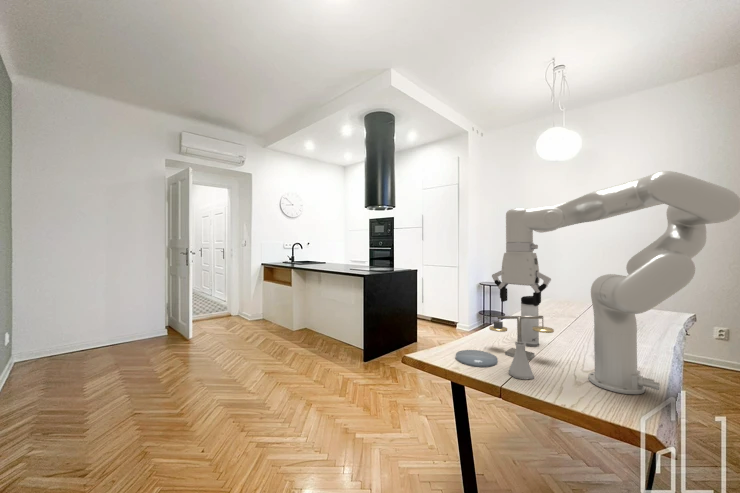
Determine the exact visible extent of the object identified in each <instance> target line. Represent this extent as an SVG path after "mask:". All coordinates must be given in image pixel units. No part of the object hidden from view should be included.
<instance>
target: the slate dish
mask: <svg viewBox="0 0 740 493" xmlns="http://www.w3.org/2000/svg"><path fill="white" fill-rule="evenodd" d="M498 359H499V358H498V357H497V356H496V355H495V354H493V353H491V352H487V351H484V350H478V349H477V350H476V349H464V350H458V351H457V352H456V353H455V360H456V361H457V362H459V363H461V364H462V365H466V366H470V367H475V368H491V367H495V366H497V365H498V361H499V360H498Z"/></svg>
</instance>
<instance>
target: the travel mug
mask: <svg viewBox="0 0 740 493" xmlns="http://www.w3.org/2000/svg"><path fill="white" fill-rule="evenodd" d="M520 316H539V305H538V306H534V305H533V295H526V296H522V297H521V296H520ZM539 320H540V319H521V326H522V342H524V343H526V346H525V347H530V348H532V347H533V348H534V347H535V348H536V347H538V346H540V342H539V341H540V338H539V337H540V336H539V335H540V332H537V331H534V330H533V328H532V327H534V326H540V325H539V324H540V322H539Z"/></svg>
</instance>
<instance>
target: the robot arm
mask: <svg viewBox="0 0 740 493" xmlns="http://www.w3.org/2000/svg"><path fill="white" fill-rule="evenodd" d="M661 205H666V206H667V209H666V221H667V227H666V230H665V232H664V233H663V234H662V235H660V236H659V237H658V238H656V240H654V241H653V242H651V243H650V244H649V245H648V246H646V247H644V248H643V249H641V250H640V251H638V252H637V253H635V254H634V255H633V256H632V257H631V258H630V259H629V260H628V261H627V263H626V267H625V268H626V269H625V270H626V273H627V274H628V275H622V274H615V273H608V274H602V275H600V276H598V277H597V278H595V280H594V281H593V282H592V284H591V287H590V297H591V302H592V303H591V304H592V310H593V326H594V327H593V339H594V340H593V341H594V344H593V345H594V347H593V348H594V349H593V350H594V351H593V352H594V355H593V356H594V371H592V372H590V373H588V376H587V378H588V380H589V382H590V383H592V384H594V385H595V386H597V387H599V388H601V389H605V390H607V391H611V392H614V393H619V394H623V395H641V394H644V393H645V392H646V388H649V389H652V390H656V391H660V390H661V383H660V382H658V381H655V379H653V378H650V377H649V378H648V377H644V376H643V375H641V370H638V335H637V334H638V323H637V317H636V315H639V314H643V313H646V312H648V311H650V310H652V309H654V308H655V307H656V306H659V305H660V304H662V303H663V302H664V301H666V300H667V299H669V298H670V297H672V296H673V295H675V294H677V293H678V292H679V291H681V290H682V289H684V288H685V287H687V285H689V283H691V281H692V280H693V279H694V276H695V274H696V265H695V263H694V261H693V258H694V257H696V256H697V255H698V254H699V253H700V252H701V251H702V250H703V249H704V248H705V246H706V242H707V226H706V225H711V224H718V223H719V224H720V223H724V222H727V221H731V219H733V218H735V217H736V216H737V215H738V214H739V213H740V196H739V194H737V193H736V192H735V191H733V190H731V189H730V188H727V187H725V186H721V185H718V184H715V183H712V182H710V181H706V180H704V179H701V178H697V177H694V176H691V175H688V174H685V173H682V172H677V171H673V170H662V171H658V172H655V173H652V174H648V175H646V176H643V177H641V178H637V179H634V180H631V181H627V182H623V183H619V184H617V185H614V186H609V187H605V188H602V189H598V190H594V191H592V192H589V193H586V194H584V195H581V196H579V197H577V198H575V199H572V200H568V201H565V202H563V203H560V204H556V205H553V206H552V205H547V206H540V207H534V208H528V207H527V208H524V207H523V208H522V207H519V208H518V207H517V208H510V209H508V210H507V211H506V213H505V242H506V243H505V251H506V252H504V253H503V256H502V262H501V270H499V271H498V272H494V273H493V274H491V278H492V280H493V281H494V284H495V285H496V286H497V288H498V289H499V298H500V302H502V303H503V302H507V301H508V288H507V287H508V285H518V286H530V287H531V288H532V290H533V291H534V292H532V296H533V305H534V306H538V307H539V306H540V304H541V303H542V292H543V291H545V289H546V288H548V287H549V284H550V283H551V281H552V278H551V277H549V276H547V275H546V274H544V273H542V272H540V268H539V260H538V255H537V252H534V251H535V250H538V249H539V245H538V244H535V243H534V235H533V234H534V232H535V233H539V234H540V233H547V232H553V231H556V230H558V229H562V228H565V227H569V226H573V225H578V224H579V225H580V224H584V223H591V222H597V221H602V220H606V219H610V218H612V217H617V216H621V215H624V214H628V213H632V212H636V211H640V210H643V209H648V208H652V207H656V206H661ZM500 276H501V280H500V279H499V277H500ZM541 280H542V281H543V282H542V284H540V281H541ZM539 284H540V285H539Z"/></svg>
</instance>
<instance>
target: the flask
mask: <svg viewBox="0 0 740 493" xmlns="http://www.w3.org/2000/svg"><path fill="white" fill-rule="evenodd" d="M514 344H515V349H516V352H515V356H514V357H512V358H513V359H512V361H511V364H510V366H509V369H508V375H510V376H511V377H513V378H515V379H518V380H519V379H521V380H531V379H532V380H533V379H535V378H534V374H533V370H532V368H531V364H530V362H529V360H528V359H527V357H526V352H525V351H526V347H527V346H526V343H524V342H517V341H515V342H514Z"/></svg>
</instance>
